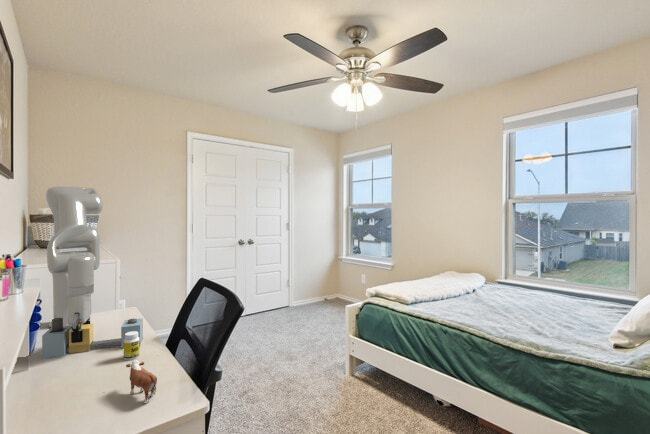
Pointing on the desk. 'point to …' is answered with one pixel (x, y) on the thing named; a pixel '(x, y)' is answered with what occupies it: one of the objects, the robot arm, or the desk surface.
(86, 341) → the block
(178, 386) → the desk surface
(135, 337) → the supplement bottle
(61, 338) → the frame
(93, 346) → the rail
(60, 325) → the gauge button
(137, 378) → the bull figurine
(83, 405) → the desk surface
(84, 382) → the desk surface
